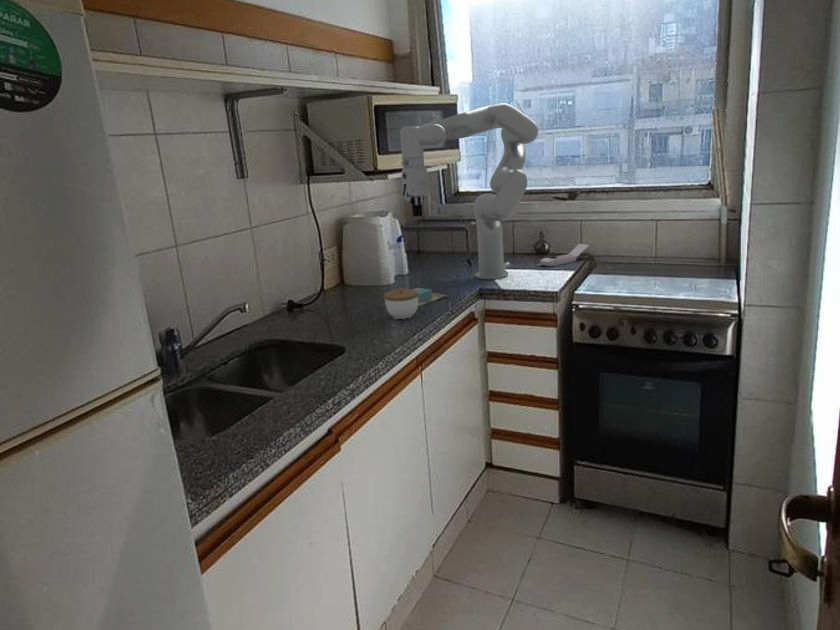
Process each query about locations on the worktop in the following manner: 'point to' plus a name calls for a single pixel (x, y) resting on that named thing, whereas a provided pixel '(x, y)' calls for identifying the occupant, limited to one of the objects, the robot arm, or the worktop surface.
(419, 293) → the tile
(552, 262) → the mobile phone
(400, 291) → the lidded jar
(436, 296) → the mat
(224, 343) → the worktop surface
